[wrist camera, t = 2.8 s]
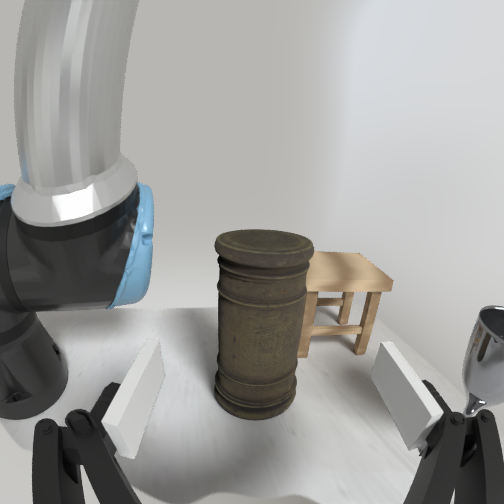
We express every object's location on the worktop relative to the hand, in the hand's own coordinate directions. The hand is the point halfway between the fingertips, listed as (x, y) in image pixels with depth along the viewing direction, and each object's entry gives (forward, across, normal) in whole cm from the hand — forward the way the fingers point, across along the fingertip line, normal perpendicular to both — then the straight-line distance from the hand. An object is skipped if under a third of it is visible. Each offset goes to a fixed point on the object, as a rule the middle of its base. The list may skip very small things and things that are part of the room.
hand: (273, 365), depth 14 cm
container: (+10, 0, -13) cm, 17 cm away
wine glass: (-1, +20, -13) cm, 24 cm away
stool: (+22, +11, -13) cm, 28 cm away
